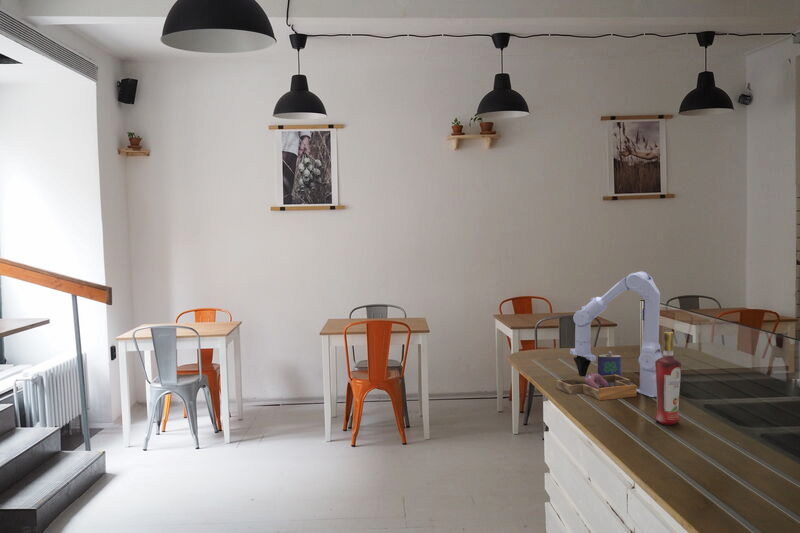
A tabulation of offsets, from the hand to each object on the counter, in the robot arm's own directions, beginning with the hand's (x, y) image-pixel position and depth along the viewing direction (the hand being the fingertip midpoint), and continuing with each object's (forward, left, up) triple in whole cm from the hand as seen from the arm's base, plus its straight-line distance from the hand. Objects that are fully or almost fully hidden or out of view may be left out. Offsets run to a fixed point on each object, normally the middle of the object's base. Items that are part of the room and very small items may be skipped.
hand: (582, 376), depth 242 cm
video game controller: (-9, 0, -3) cm, 9 cm away
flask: (+4, -15, -3) cm, 16 cm away
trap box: (-12, 0, -3) cm, 12 cm away
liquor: (-50, +3, -3) cm, 50 cm away
